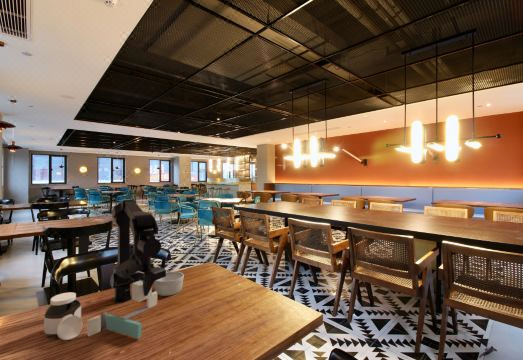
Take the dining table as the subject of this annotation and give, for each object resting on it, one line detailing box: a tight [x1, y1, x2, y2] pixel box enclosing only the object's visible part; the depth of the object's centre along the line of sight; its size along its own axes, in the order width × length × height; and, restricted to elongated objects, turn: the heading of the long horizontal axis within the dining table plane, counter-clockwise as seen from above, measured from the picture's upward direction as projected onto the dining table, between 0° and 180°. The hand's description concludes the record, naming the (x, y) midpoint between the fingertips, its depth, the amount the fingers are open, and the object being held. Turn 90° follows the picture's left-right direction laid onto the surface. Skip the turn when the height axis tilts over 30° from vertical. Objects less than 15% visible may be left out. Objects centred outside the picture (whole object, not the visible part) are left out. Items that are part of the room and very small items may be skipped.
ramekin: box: [153, 270, 185, 297], centre depth 120 cm, size 13×13×7 cm
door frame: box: [86, 290, 158, 337], centre depth 96 cm, size 2×26×5 cm, turn 149°
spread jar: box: [43, 291, 83, 341], centre depth 87 cm, size 12×11×12 cm
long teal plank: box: [105, 313, 142, 339], centre depth 86 cm, size 14×1×4 cm, turn 68°
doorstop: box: [131, 280, 153, 303], centre depth 92 cm, size 4×5×6 cm
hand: (142, 294), depth 92 cm, fingers closed on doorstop, 4 cm apart
